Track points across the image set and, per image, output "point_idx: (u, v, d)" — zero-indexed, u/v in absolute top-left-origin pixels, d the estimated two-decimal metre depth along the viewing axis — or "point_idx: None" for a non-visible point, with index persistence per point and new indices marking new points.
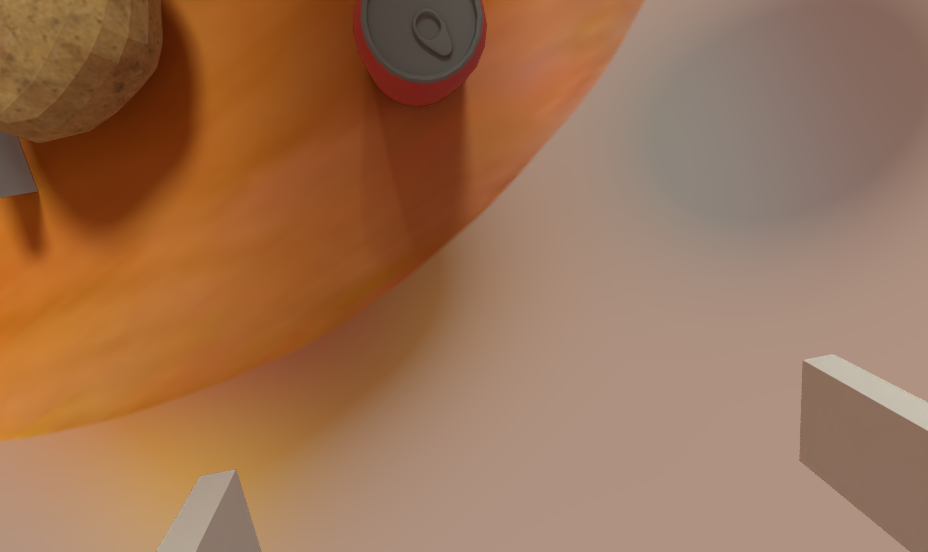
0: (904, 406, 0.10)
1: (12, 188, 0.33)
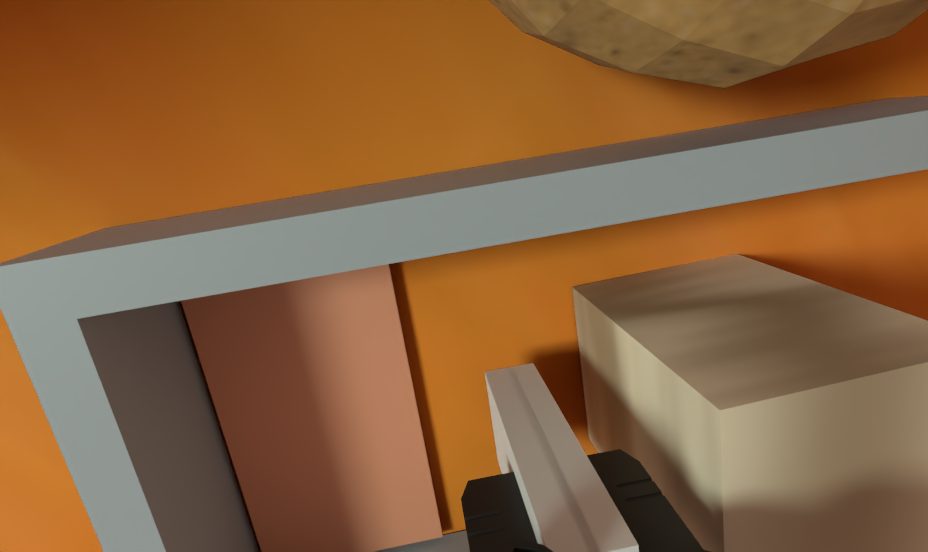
0: (537, 408, 0.12)
1: None
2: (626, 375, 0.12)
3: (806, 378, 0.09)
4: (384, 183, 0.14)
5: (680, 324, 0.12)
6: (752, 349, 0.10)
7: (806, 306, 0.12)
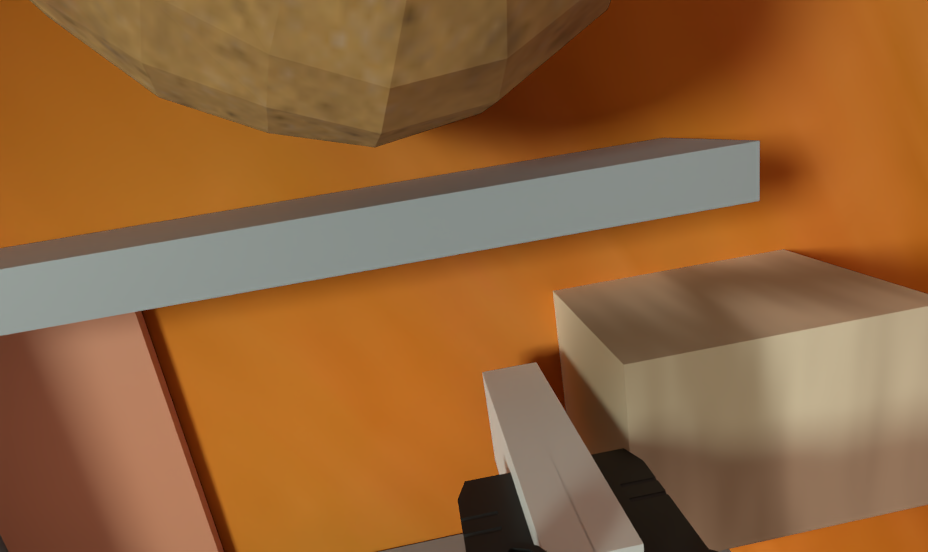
0: (541, 408, 0.12)
1: (691, 142, 0.12)
2: (785, 384, 0.11)
3: (866, 281, 0.13)
4: (118, 230, 0.13)
5: (766, 310, 0.12)
6: (816, 291, 0.12)
7: (715, 276, 0.14)
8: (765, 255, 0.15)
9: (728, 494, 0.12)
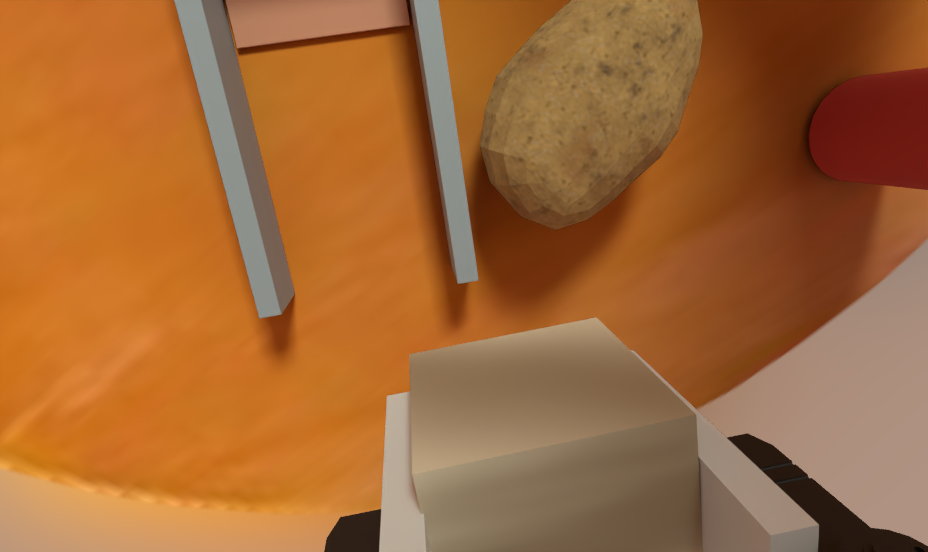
0: None
1: None
2: None
3: None
4: None
5: None
6: None
7: None
8: None
9: None
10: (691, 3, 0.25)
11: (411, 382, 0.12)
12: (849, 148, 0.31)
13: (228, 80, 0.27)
